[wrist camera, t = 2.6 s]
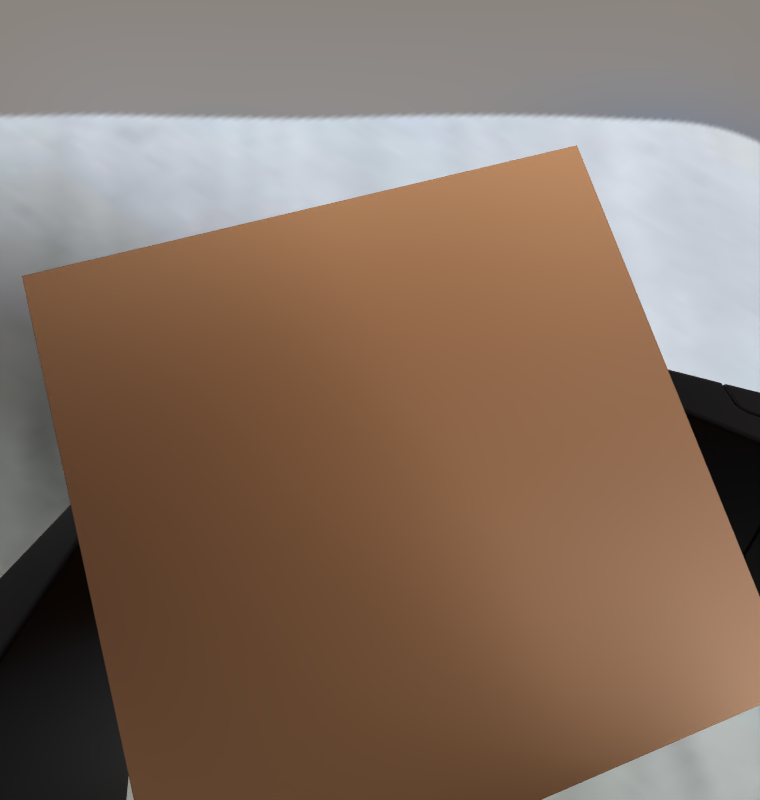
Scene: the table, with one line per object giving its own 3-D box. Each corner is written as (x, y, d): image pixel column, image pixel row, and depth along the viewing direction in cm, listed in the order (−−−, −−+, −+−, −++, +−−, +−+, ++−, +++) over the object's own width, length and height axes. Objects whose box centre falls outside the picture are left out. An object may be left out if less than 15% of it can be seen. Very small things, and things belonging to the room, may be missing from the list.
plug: (421, 510, 17) (797, 688, 3) (316, 545, 16) (168, 961, 2) (388, 408, 17) (576, 145, 3) (286, 438, 17) (20, 276, 3)
